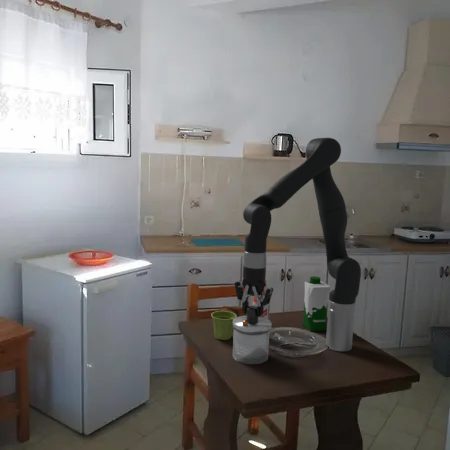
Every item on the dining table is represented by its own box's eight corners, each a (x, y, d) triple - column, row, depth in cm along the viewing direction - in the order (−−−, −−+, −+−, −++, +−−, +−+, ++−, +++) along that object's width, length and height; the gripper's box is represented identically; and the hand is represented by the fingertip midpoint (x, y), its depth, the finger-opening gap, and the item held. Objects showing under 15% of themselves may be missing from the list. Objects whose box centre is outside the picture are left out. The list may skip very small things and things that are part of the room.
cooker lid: (246, 316, 172) (246, 299, 171) (278, 324, 164) (279, 307, 164) (224, 326, 161) (225, 308, 160) (258, 335, 154) (259, 317, 153)
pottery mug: (210, 323, 196) (217, 304, 199) (229, 331, 200) (236, 312, 202) (224, 325, 186) (231, 305, 188) (244, 334, 189) (251, 313, 191)
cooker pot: (244, 346, 173) (246, 316, 172) (275, 355, 166) (277, 324, 164) (224, 357, 163) (225, 326, 161) (256, 368, 156) (258, 335, 154)
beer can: (267, 342, 177) (269, 300, 175) (250, 340, 178) (252, 298, 176) (269, 336, 183) (271, 295, 181) (252, 334, 185) (254, 293, 182)
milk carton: (319, 323, 200) (322, 275, 197) (329, 331, 191) (333, 281, 188) (299, 324, 197) (302, 276, 194) (309, 332, 189) (312, 282, 186)
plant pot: (227, 331, 187) (227, 309, 186) (240, 339, 179) (241, 317, 178) (205, 335, 182) (206, 312, 181) (218, 344, 174) (219, 320, 173)
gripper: (279, 266, 159) (276, 316, 161) (242, 259, 167) (240, 307, 169) (267, 270, 153) (265, 322, 155) (230, 263, 161) (228, 312, 163)
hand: (252, 314), depth 162 cm, fingers open, 4 cm apart
